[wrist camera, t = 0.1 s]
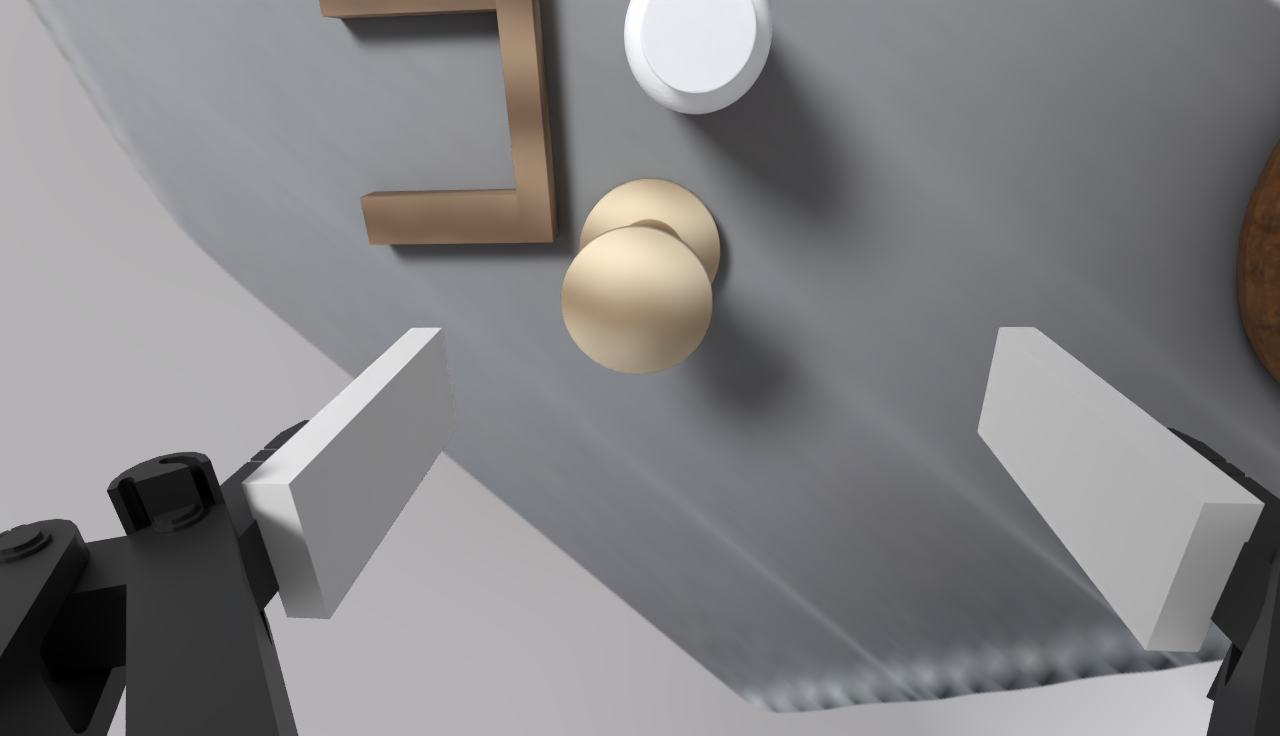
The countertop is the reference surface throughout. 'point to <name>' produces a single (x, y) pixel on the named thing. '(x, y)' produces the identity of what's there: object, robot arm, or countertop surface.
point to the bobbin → (642, 277)
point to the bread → (1262, 267)
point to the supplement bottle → (697, 50)
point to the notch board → (534, 199)
